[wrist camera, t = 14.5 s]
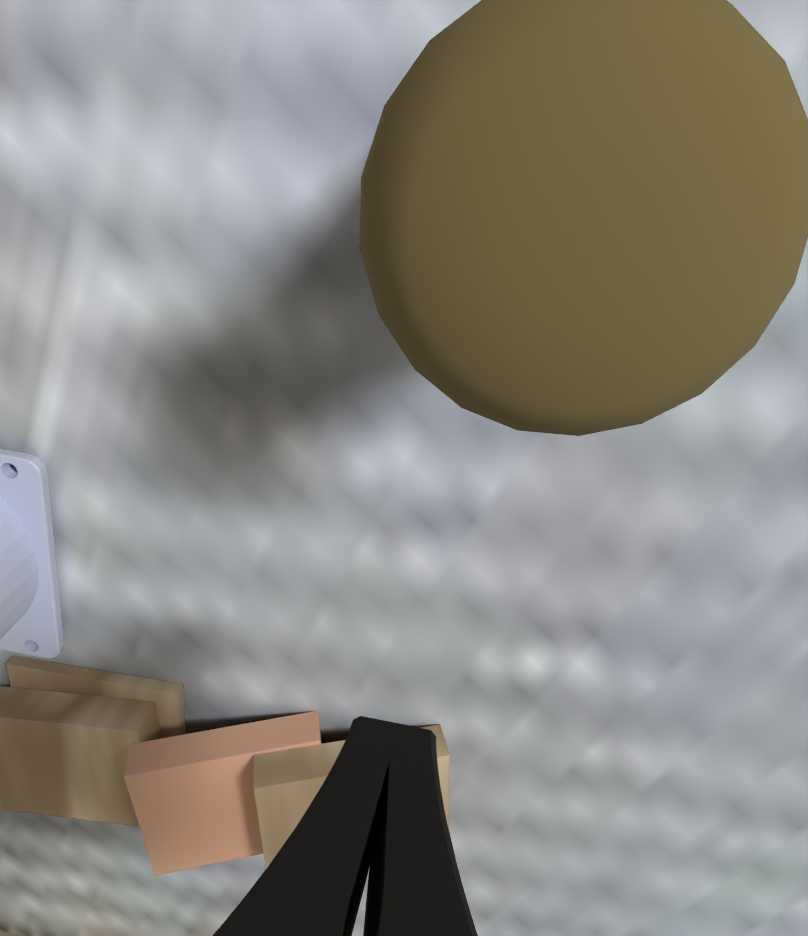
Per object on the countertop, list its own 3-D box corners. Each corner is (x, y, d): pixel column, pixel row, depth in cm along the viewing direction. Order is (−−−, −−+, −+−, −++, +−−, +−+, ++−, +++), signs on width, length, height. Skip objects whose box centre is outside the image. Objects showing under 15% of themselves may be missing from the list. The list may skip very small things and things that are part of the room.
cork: (513, 350, 19) (532, 593, 9) (359, 167, 17) (176, 218, 7) (717, 188, 16) (1044, 276, 7) (560, -38, 15) (683, -358, 5)
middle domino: (174, 796, 28) (20, 779, 28) (154, 701, 25) (-12, 684, 26) (158, 828, 26) (-3, 809, 27) (136, 731, 24) (-38, 712, 25)
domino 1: (197, 760, 29) (45, 732, 29) (193, 667, 26) (29, 638, 27) (183, 789, 27) (25, 759, 28) (178, 694, 25) (5, 663, 26)
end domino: (439, 822, 27) (268, 854, 26) (440, 724, 25) (253, 754, 24) (448, 855, 26) (269, 890, 25) (449, 755, 24) (253, 788, 23)
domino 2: (331, 807, 27) (159, 841, 26) (317, 710, 25) (130, 743, 24) (334, 838, 26) (155, 875, 25) (320, 740, 24) (123, 776, 23)
